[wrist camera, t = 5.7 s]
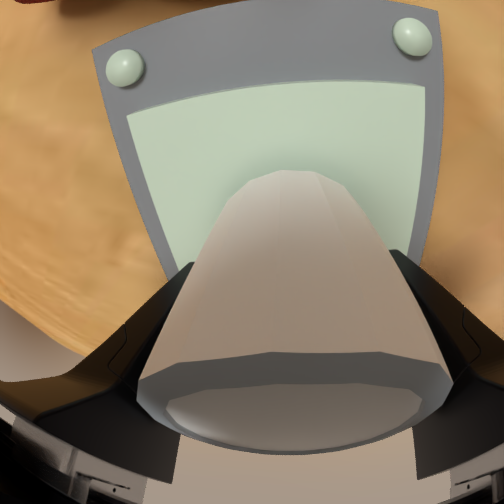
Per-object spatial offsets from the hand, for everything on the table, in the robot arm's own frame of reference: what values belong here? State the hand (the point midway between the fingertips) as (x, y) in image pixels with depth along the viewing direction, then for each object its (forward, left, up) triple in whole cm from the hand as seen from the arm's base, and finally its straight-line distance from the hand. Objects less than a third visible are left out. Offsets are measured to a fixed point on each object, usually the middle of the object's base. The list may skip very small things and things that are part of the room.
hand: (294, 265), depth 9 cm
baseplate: (0, 0, -5) cm, 5 cm away
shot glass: (0, 0, -2) cm, 2 cm away
